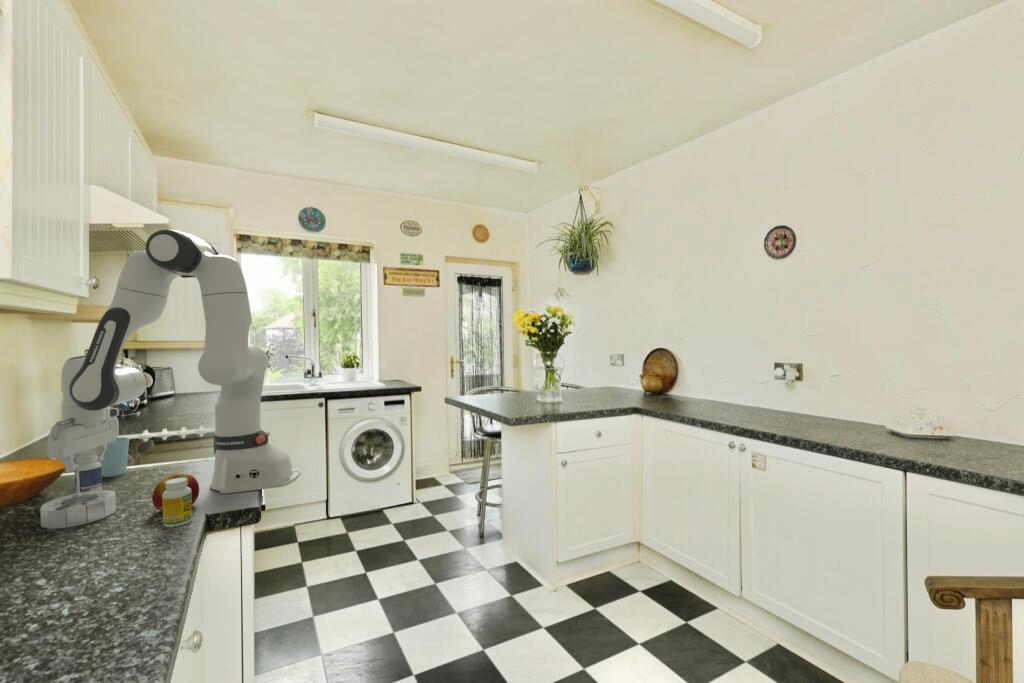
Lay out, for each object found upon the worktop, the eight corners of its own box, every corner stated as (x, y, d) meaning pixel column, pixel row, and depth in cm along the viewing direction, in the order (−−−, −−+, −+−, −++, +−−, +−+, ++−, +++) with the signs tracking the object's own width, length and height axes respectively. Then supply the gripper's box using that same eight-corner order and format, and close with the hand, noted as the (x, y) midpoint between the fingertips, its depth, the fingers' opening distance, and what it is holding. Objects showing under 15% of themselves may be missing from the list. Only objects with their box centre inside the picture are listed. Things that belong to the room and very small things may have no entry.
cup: (124, 476, 138) (122, 441, 137) (92, 479, 135) (90, 444, 135) (135, 469, 145) (133, 436, 144) (105, 472, 142) (103, 438, 142)
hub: (128, 504, 115) (127, 487, 114) (90, 526, 102) (89, 506, 102) (71, 508, 113) (70, 491, 113) (25, 530, 100) (24, 511, 100)
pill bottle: (107, 488, 127) (106, 453, 127) (88, 495, 122) (86, 459, 121) (90, 488, 128) (88, 453, 127) (69, 495, 122) (68, 458, 122)
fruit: (183, 516, 107) (181, 482, 107) (142, 518, 106) (141, 483, 106) (208, 501, 116) (206, 469, 116) (170, 502, 116) (169, 470, 116)
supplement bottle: (169, 519, 105) (168, 477, 105) (196, 516, 107) (195, 475, 106) (158, 529, 100) (156, 485, 100) (187, 526, 101) (185, 482, 101)
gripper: (66, 422, 114) (67, 478, 115) (123, 408, 134) (124, 455, 135) (37, 423, 113) (38, 479, 114) (99, 409, 134) (99, 456, 134)
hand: (85, 466), depth 124 cm, fingers open, 8 cm apart
